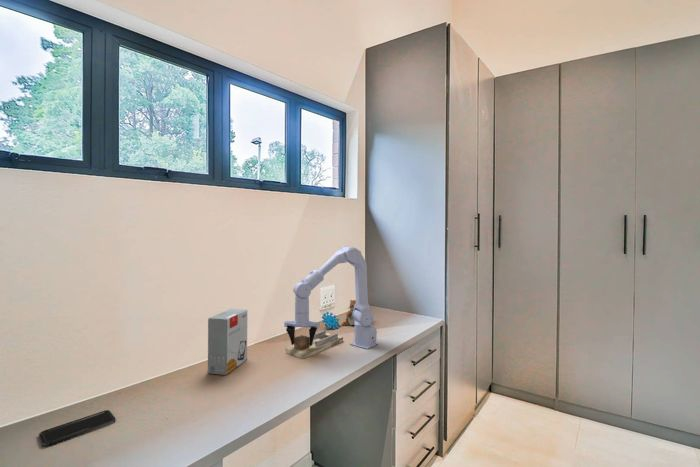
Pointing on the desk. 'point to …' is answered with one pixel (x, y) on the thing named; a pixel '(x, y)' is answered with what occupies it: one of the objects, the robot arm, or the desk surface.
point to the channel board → (316, 344)
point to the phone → (76, 428)
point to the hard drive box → (227, 341)
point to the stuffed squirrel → (350, 314)
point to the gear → (330, 320)
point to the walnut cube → (301, 342)
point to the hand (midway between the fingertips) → (302, 344)
